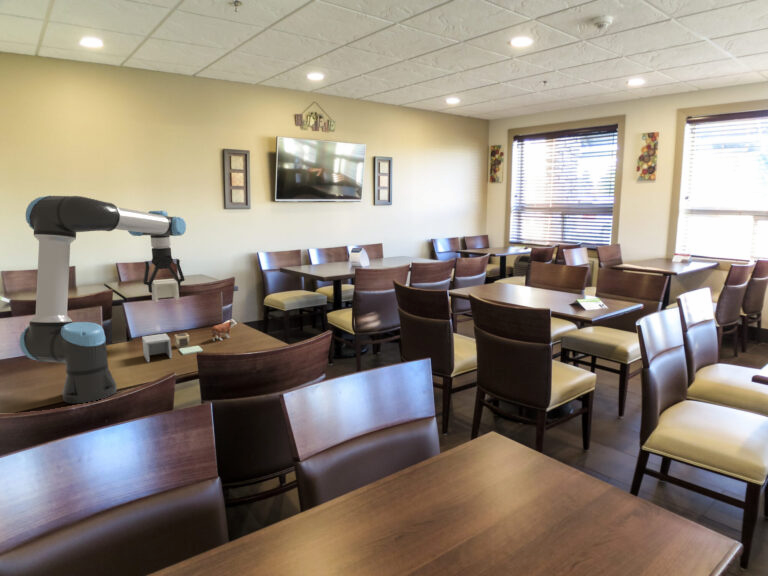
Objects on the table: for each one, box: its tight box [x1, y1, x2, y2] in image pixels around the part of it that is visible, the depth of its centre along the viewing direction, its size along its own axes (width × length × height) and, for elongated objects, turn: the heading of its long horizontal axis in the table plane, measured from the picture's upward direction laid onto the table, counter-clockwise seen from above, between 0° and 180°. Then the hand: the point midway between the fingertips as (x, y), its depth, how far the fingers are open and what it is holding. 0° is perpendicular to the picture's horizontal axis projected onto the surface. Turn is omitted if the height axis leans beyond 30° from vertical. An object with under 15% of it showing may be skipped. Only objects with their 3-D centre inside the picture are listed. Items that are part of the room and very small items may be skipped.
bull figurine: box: [211, 318, 238, 342], centre depth 225 cm, size 4×13×8 cm, turn 148°
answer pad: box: [178, 345, 204, 356], centre depth 208 cm, size 8×8×1 cm
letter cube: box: [174, 332, 191, 349], centre depth 214 cm, size 5×5×5 cm
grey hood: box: [141, 333, 173, 363], centre depth 199 cm, size 10×9×8 cm
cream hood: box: [152, 278, 180, 303], centre depth 215 cm, size 10×9×8 cm
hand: (165, 298), depth 216 cm, fingers closed on cream hood, 9 cm apart
